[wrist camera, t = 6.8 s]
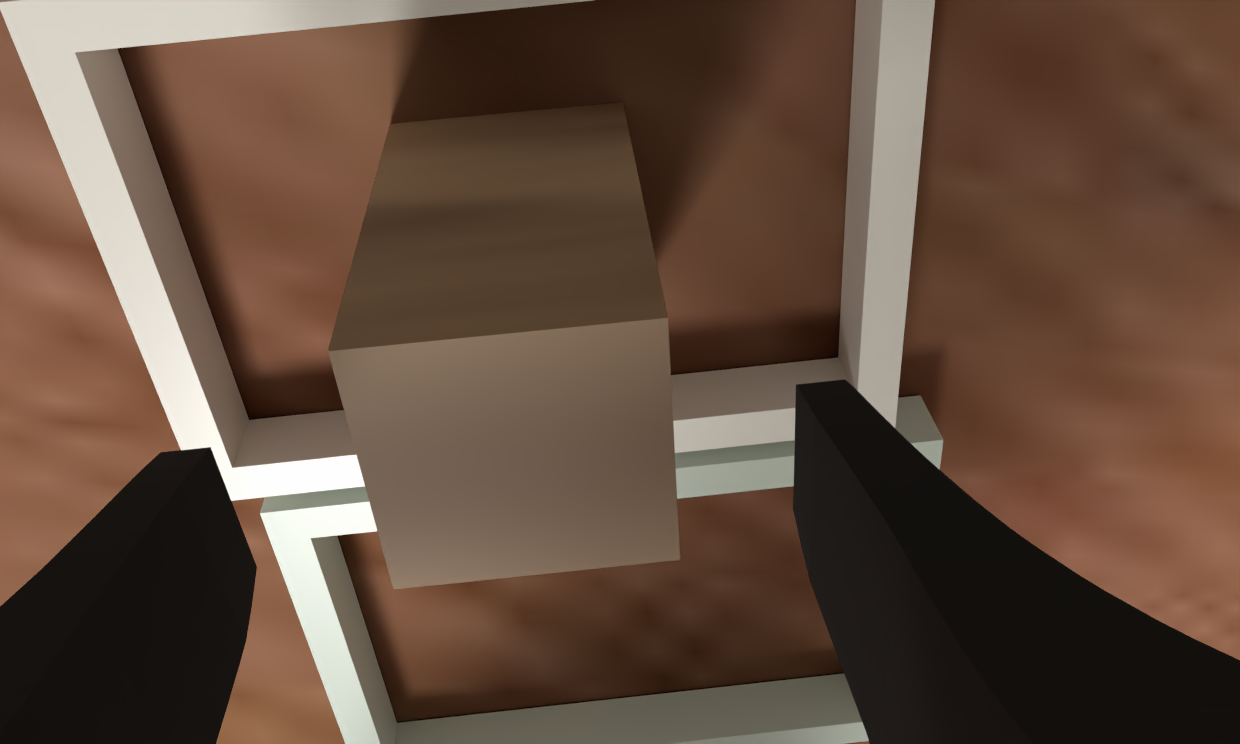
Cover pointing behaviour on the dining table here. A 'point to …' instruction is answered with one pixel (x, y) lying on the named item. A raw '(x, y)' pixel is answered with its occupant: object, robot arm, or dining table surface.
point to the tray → (321, 442)
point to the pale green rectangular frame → (571, 733)
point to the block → (509, 351)
